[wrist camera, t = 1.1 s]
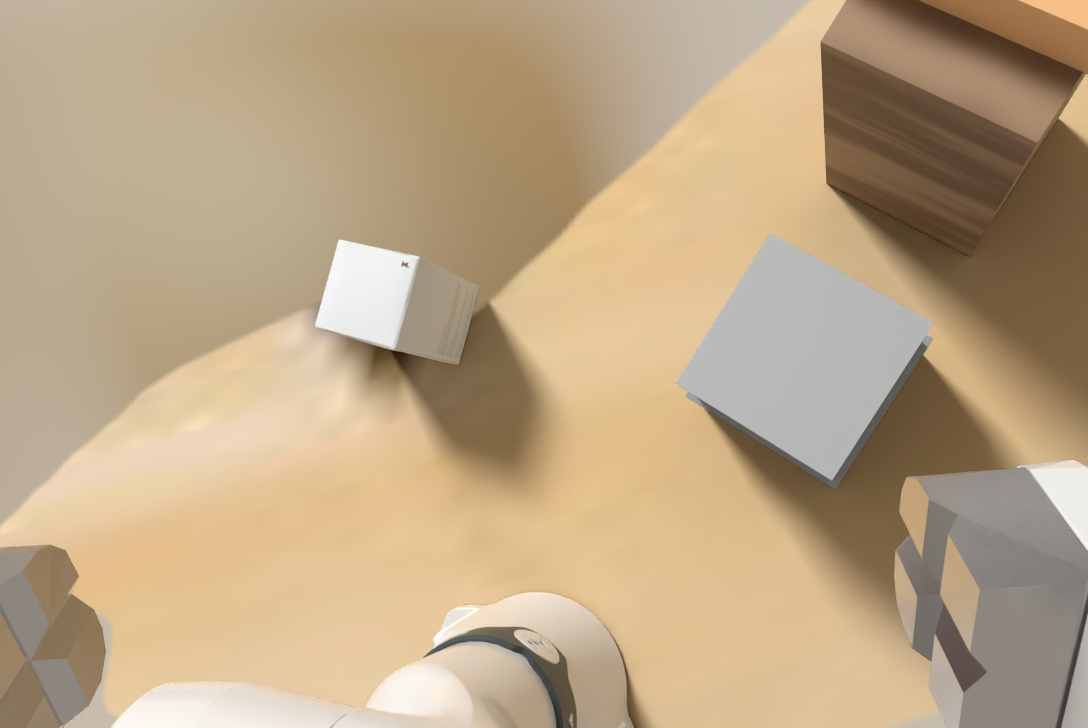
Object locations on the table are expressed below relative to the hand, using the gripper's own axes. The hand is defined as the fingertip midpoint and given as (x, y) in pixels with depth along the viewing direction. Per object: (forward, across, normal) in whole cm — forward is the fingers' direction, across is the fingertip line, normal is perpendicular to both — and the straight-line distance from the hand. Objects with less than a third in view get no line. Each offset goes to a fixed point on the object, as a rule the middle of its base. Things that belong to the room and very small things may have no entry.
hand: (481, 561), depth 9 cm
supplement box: (+68, -13, -30) cm, 76 cm away
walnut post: (+65, +28, -19) cm, 73 cm away
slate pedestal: (+57, +17, -33) cm, 68 cm away
